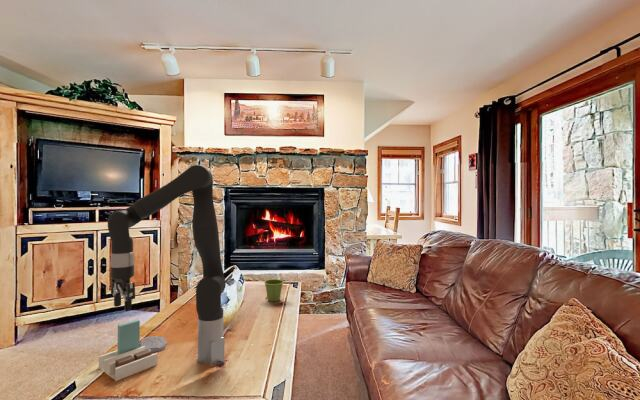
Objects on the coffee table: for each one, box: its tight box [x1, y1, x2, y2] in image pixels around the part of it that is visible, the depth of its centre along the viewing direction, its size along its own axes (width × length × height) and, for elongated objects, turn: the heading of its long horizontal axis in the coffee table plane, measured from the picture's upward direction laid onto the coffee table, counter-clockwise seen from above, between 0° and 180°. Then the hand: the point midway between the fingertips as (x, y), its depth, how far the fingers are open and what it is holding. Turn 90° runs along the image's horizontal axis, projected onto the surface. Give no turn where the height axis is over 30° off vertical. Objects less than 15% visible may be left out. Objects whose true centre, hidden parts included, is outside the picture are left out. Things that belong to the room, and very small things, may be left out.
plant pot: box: [263, 278, 285, 303], centre depth 207 cm, size 12×12×11 cm
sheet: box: [117, 319, 141, 355], centre depth 128 cm, size 2×7×14 cm, turn 144°
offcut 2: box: [134, 349, 153, 361], centre depth 123 cm, size 3×5×5 cm, turn 143°
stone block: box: [140, 335, 168, 353], centre depth 140 cm, size 12×5×10 cm
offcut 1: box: [115, 355, 135, 368], centre depth 119 cm, size 3×5×5 cm, turn 143°
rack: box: [98, 346, 158, 382], centre depth 124 cm, size 14×14×6 cm
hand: (122, 308), depth 126 cm, fingers open, 8 cm apart
